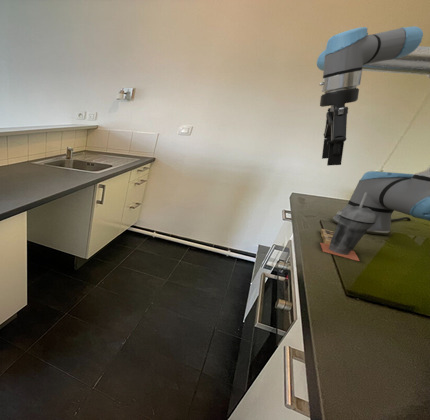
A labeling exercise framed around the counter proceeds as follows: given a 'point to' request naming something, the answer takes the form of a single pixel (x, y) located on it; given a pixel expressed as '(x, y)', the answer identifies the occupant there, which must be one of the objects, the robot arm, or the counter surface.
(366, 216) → the beverage cup
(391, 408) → the counter surface
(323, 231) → the oak tile
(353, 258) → the slot pad
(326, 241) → the oak tile
